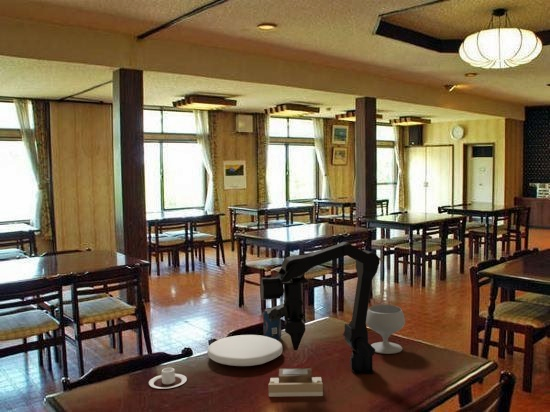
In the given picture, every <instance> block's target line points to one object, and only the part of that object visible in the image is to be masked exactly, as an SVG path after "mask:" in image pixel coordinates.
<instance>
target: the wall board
mask: <svg viewBox="0 0 550 412" xmlns="http://www.w3.org/2000/svg"><path fill="white" fill-rule="evenodd" d="M269 379H270V380H269V383H268V385H267V386H268V397H271V398H272V397H276V398H277V397H278V398H279V397H323V396H324V384H323V383H324V382H322V381H323V380H322V377H321V376H315V377H314V376H312V383H279V377H270V378H269Z"/></svg>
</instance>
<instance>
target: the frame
mask: <svg viewBox="0 0 550 412" xmlns="http://www.w3.org/2000/svg"><path fill="white" fill-rule="evenodd" d="M312 377H313V374H312V368H311V367H307V368H306V367H305V368H304V367H303V368H279V369H278V378H279V383H312Z"/></svg>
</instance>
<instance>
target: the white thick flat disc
mask: <svg viewBox="0 0 550 412" xmlns="http://www.w3.org/2000/svg"><path fill="white" fill-rule="evenodd" d="M282 353H283V344H282V342H281V341H280V340H278V341H277V340H276V339H273V338H270V337H266V336H264V335H259V334H240V335H233V336H232V335H231V336H227V337H223V338H220V339H216V341H214V342H212V343H210V344H209V346H208V347H207V355H208V356H207V357H208V358H209V359H211V360H212V361H213V362H215V363H218V364H221V365H227V366H232V367H233V366H235V367H251V366H252V367H253V366H258V365H259V366H260V365H263V364H265V363H266V364H267V363H268V362H270V361H273V360H275V359H276V358H278V357H279V356H281V355H282Z"/></svg>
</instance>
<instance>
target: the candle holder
mask: <svg viewBox="0 0 550 412" xmlns="http://www.w3.org/2000/svg"><path fill="white" fill-rule="evenodd" d="M176 378H178V379H180V381H181V382H179V383H177V384H175V382H176ZM159 379H161V383H162V384H163V385H171V384H172V386H157V385H155V382H157V380H159ZM187 380H188V377H187V376H185V375H184V374H181V373H176V370H175V368H173V367H165V368H163V369H161V373H160V375H157V376H154V377H153V378H151V379H149V381H148V385H149V386H150V387H151V388H153V389H161V390H162V389H163V390H164V389H165V390H166V389H172V388H177V387H179V386H182V385H184V384H185V383H186V382H187ZM173 384H175V385H173Z"/></svg>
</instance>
